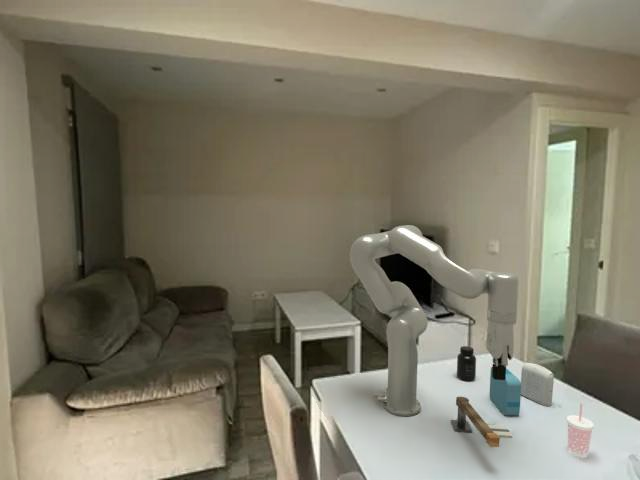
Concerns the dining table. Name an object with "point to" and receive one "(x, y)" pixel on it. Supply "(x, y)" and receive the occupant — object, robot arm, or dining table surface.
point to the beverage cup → (579, 434)
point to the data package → (506, 393)
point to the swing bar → (478, 422)
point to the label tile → (501, 431)
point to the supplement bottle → (466, 364)
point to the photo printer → (537, 383)
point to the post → (461, 423)
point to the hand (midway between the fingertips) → (498, 378)
